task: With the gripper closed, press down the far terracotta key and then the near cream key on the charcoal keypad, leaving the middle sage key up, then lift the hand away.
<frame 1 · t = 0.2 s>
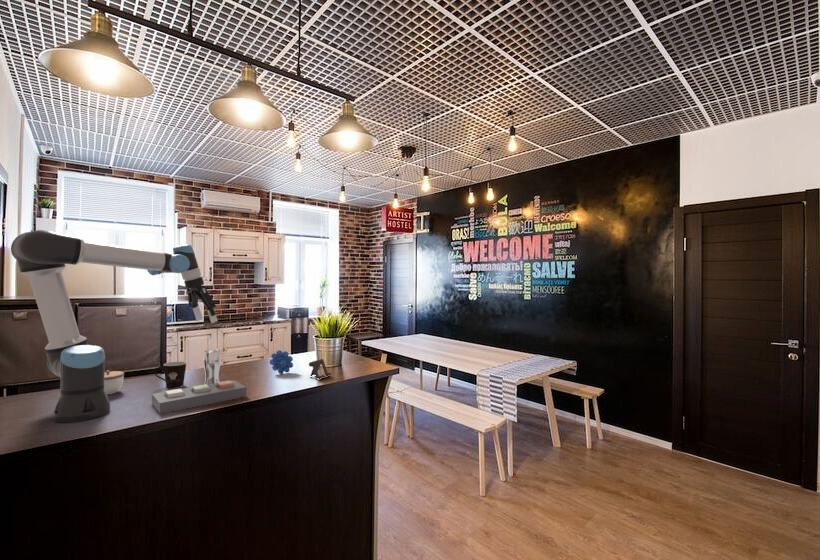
hand: (207, 321, 180), 28 cm above the countertop, tool tilted 20°, fingers open, 13 cm apart
portable electronic device stand: (318, 378, 186), on the countertop
keypad: (200, 400, 150), on the countertop
terracotta key: (225, 386, 156), point 4 cm above the countertop, slide at 0.0 cm
sage key: (200, 390, 150), point 4 cm above the countertop, slide at 0.0 cm
coffee mug: (171, 386, 168), on the countertop
beer glass: (211, 384, 173), on the countertop
lidded jar: (107, 393, 157), on the countertop
blue gear: (281, 374, 192), on the countertop
cream key: (174, 395, 143), point 4 cm above the countertop, slide at 0.0 cm
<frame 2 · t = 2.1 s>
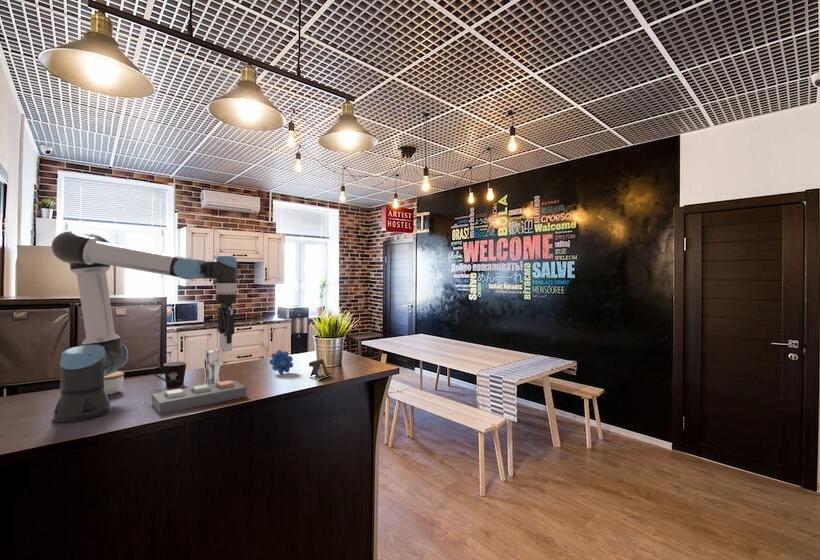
hand: (225, 350, 156), 19 cm above the countertop, tool pointing down, fingers open, 5 cm apart
nothing on the countertop moved.
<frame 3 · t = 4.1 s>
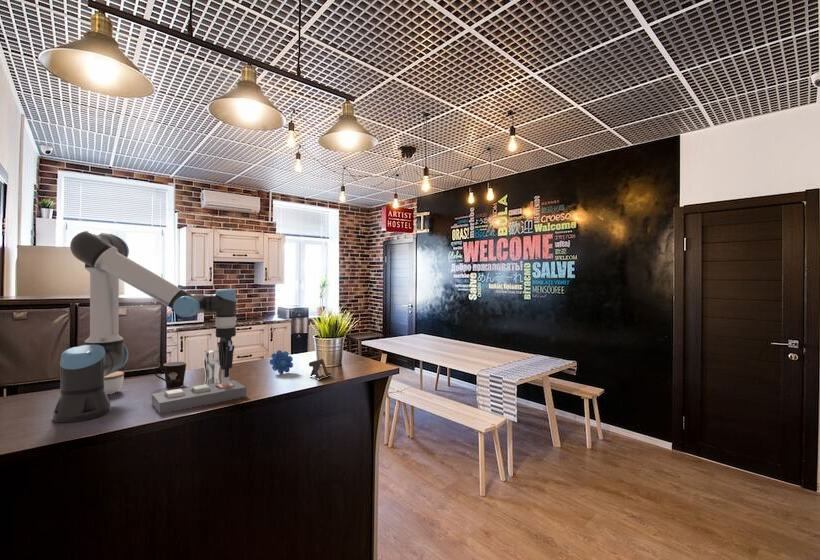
hand: (225, 384, 156), 5 cm above the countertop, tool pointing down, fingers closed
terracotta key: (225, 388, 156), point 3 cm above the countertop, slide at 1.0 cm, touching gripper
everything else where it was.
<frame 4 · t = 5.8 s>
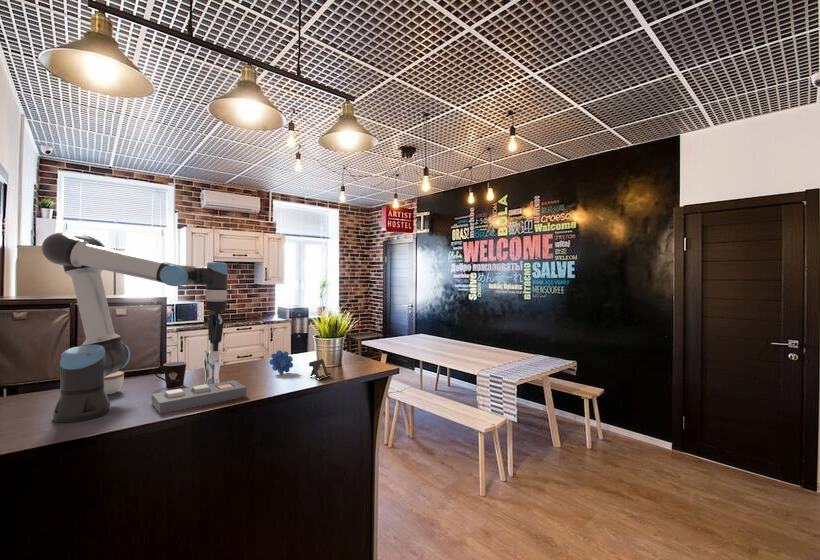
hand: (214, 358, 153), 16 cm above the countertop, tool pointing down, fingers closed
terracotta key: (225, 389, 156), point 3 cm above the countertop, slide at 1.4 cm
everything else where it was.
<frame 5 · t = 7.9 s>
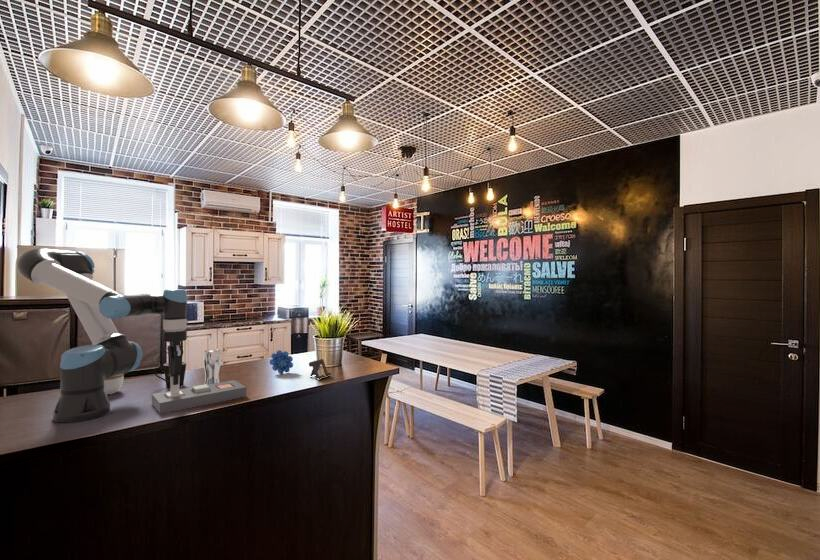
hand: (174, 392, 143), 5 cm above the countertop, tool pointing down, fingers closed
cream key: (174, 397, 143), point 3 cm above the countertop, slide at 0.8 cm, touching gripper
everything else where it was.
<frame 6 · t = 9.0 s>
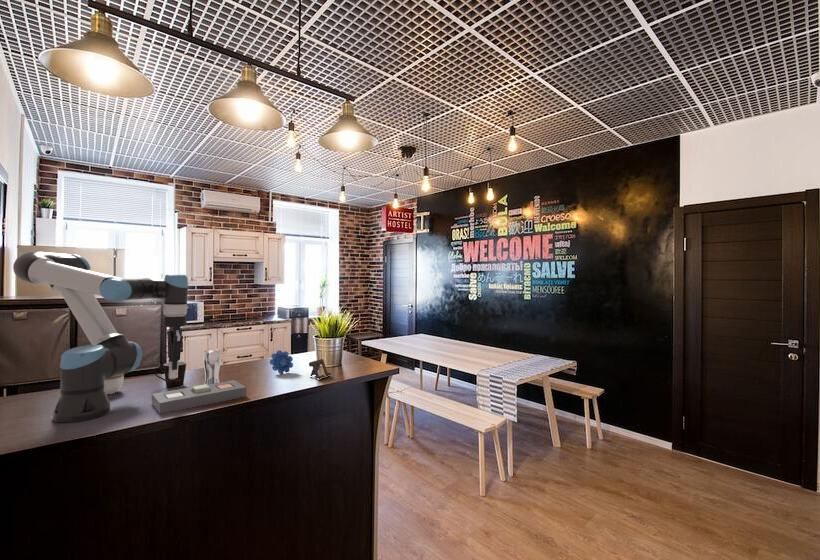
hand: (173, 377, 143), 11 cm above the countertop, tool pointing down, fingers closed
cream key: (174, 398, 143), point 3 cm above the countertop, slide at 1.4 cm
everything else where it was.
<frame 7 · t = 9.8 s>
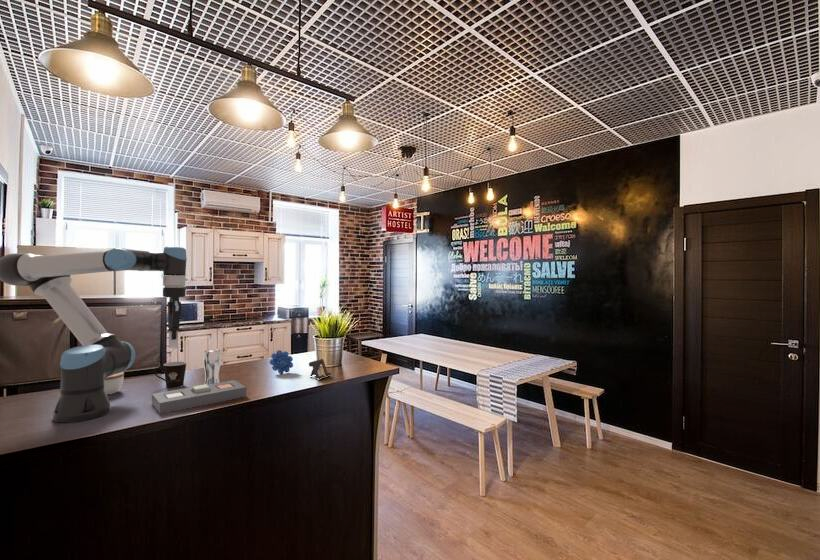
hand: (173, 347, 147), 21 cm above the countertop, tool pointing down, fingers closed
nothing on the countertop moved.
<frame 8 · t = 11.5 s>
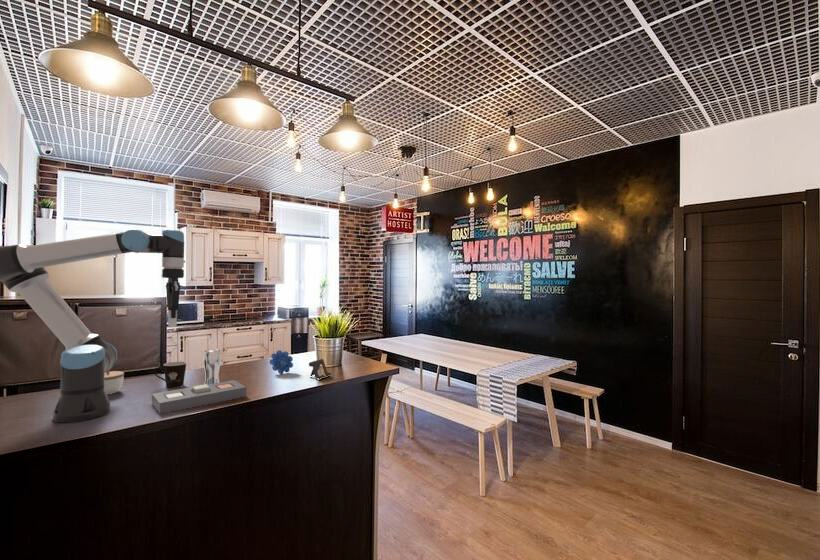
hand: (172, 325, 155), 28 cm above the countertop, tool pointing down, fingers closed
nothing on the countertop moved.
at the end: terracotta key slide at 1.4 cm; cream key slide at 1.4 cm; sage key slide at 0.0 cm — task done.
